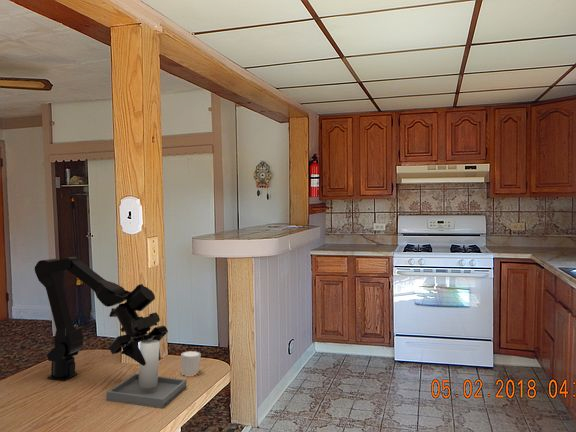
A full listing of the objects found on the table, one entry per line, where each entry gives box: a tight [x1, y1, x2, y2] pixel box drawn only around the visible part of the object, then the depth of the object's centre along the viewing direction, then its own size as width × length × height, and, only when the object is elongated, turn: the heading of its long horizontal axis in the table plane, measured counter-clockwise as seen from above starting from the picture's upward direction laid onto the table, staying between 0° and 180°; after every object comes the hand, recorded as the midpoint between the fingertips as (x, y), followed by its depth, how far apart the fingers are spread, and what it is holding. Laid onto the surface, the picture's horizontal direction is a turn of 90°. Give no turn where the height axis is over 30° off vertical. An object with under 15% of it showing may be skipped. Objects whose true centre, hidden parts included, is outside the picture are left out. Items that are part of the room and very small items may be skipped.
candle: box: [138, 340, 161, 388], centre depth 141 cm, size 6×6×13 cm
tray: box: [105, 373, 187, 409], centre depth 141 cm, size 18×16×2 cm
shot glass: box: [180, 350, 202, 376], centre depth 160 cm, size 7×7×7 cm
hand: (152, 362), depth 140 cm, fingers closed on candle, 5 cm apart
